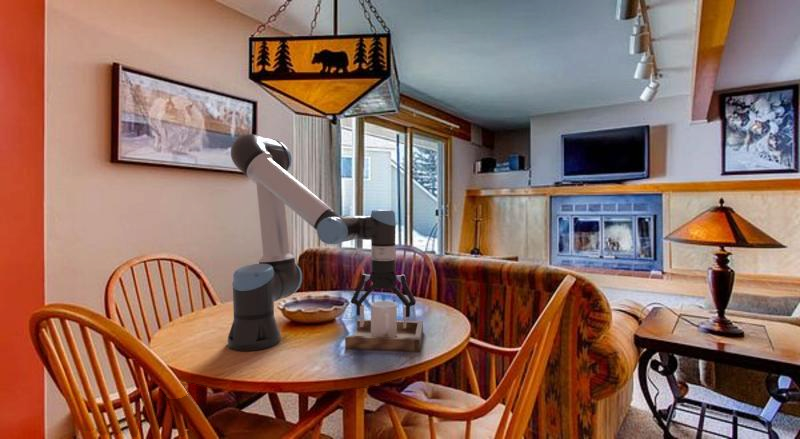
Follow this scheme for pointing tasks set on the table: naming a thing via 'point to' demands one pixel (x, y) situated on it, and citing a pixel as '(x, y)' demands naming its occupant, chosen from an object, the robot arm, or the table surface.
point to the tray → (387, 338)
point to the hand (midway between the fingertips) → (383, 326)
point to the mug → (384, 319)
